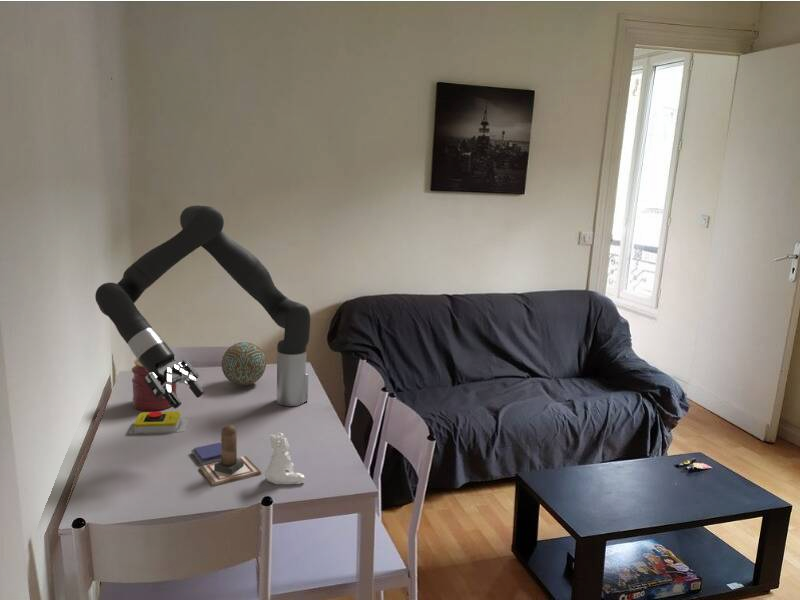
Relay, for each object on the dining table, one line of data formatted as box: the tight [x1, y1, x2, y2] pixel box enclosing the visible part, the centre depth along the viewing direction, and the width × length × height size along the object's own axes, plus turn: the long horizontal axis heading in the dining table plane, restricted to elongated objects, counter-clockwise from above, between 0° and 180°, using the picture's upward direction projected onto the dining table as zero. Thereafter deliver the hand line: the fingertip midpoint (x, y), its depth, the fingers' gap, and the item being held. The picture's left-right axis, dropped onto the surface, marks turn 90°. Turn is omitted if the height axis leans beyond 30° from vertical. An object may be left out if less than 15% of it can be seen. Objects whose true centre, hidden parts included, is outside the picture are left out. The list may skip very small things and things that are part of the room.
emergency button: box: [128, 410, 189, 435], centre depth 174 cm, size 9×4×15 cm
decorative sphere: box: [221, 341, 267, 386], centre depth 212 cm, size 15×15×15 cm
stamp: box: [214, 424, 244, 475], centre depth 149 cm, size 5×5×11 cm
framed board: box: [198, 455, 262, 487], centre depth 150 cm, size 12×10×1 cm
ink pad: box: [190, 442, 222, 466], centre depth 158 cm, size 8×8×2 cm
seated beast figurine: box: [264, 431, 306, 485], centre depth 147 cm, size 10×9×12 cm
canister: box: [131, 358, 178, 412], centre depth 189 cm, size 13×13×18 cm
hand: (190, 400), depth 151 cm, fingers open, 8 cm apart
